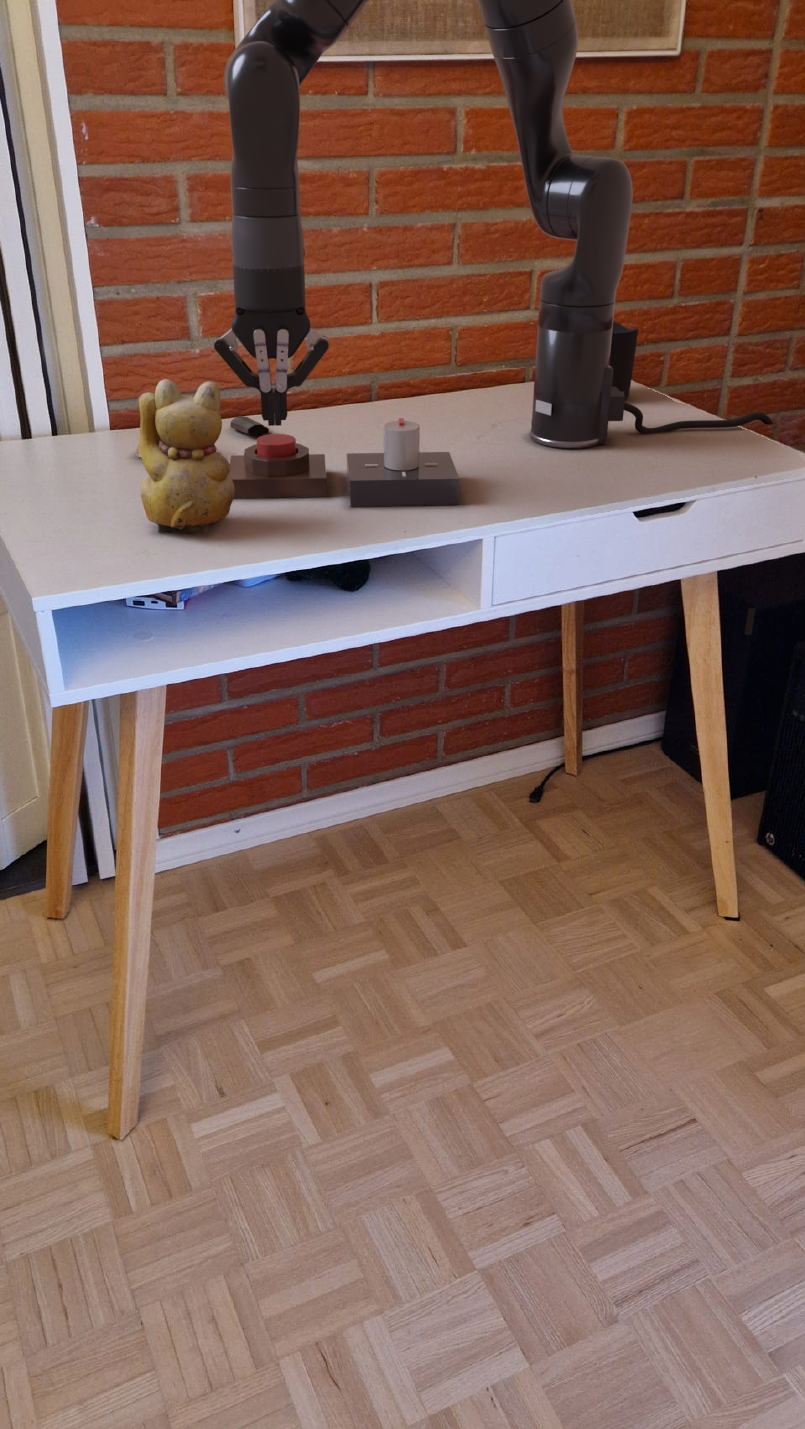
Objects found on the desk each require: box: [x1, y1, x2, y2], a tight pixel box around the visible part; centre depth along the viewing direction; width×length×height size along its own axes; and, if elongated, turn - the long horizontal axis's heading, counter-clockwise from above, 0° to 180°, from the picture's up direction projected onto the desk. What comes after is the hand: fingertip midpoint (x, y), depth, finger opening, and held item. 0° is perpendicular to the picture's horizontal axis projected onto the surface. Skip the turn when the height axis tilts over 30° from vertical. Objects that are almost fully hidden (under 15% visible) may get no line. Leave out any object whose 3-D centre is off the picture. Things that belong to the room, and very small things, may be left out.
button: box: [256, 433, 297, 458], centre depth 134 cm, size 4×4×2 cm
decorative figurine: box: [138, 378, 235, 535], centre depth 120 cm, size 10×8×15 cm
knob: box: [383, 417, 421, 471], centre depth 132 cm, size 4×4×5 cm
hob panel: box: [346, 451, 461, 508], centre depth 134 cm, size 12×10×3 cm
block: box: [229, 415, 270, 435], centre depth 154 cm, size 4×6×2 cm, turn 32°
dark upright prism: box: [609, 320, 640, 401], centre depth 169 cm, size 9×9×10 cm
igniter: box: [228, 442, 328, 499], centre depth 135 cm, size 11×9×4 cm
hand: (275, 423), depth 132 cm, fingers closed
